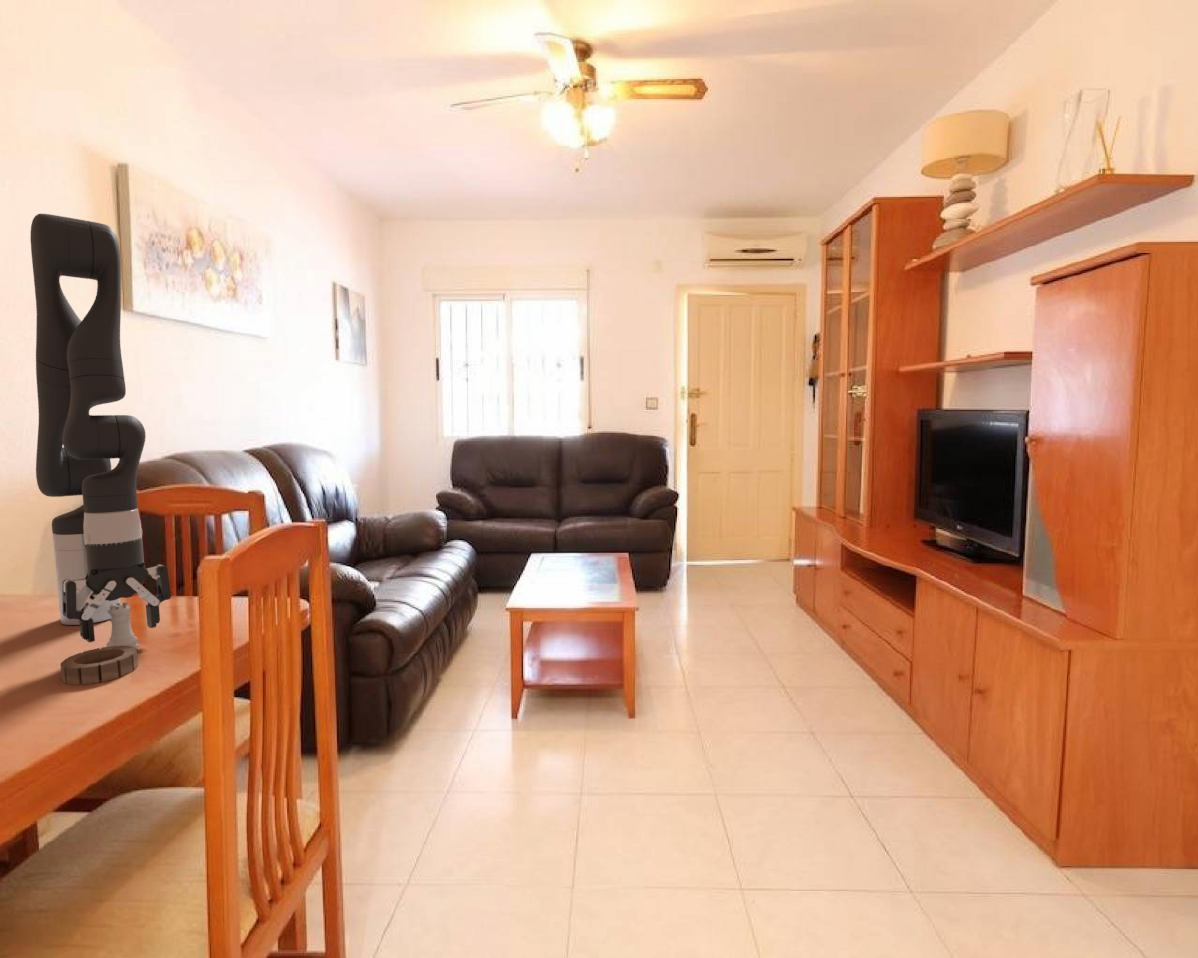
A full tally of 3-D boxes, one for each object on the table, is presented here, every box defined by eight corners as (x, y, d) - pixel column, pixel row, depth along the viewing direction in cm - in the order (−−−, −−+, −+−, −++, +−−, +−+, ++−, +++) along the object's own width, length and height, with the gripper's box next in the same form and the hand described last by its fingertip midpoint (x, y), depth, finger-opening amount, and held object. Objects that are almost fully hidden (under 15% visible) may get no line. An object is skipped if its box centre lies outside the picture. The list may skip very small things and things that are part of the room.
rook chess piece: (122, 656, 104) (117, 609, 103) (99, 655, 105) (95, 607, 104) (146, 647, 108) (142, 601, 108) (124, 645, 109) (120, 599, 108)
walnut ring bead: (55, 674, 97) (54, 658, 97) (126, 656, 104) (125, 641, 104) (72, 689, 92) (70, 673, 91) (146, 669, 99) (144, 654, 98)
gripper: (156, 529, 113) (163, 618, 114) (51, 541, 101) (61, 641, 103) (172, 533, 108) (179, 626, 110) (64, 547, 97) (74, 651, 98)
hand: (121, 633), depth 106 cm, fingers open, 8 cm apart
